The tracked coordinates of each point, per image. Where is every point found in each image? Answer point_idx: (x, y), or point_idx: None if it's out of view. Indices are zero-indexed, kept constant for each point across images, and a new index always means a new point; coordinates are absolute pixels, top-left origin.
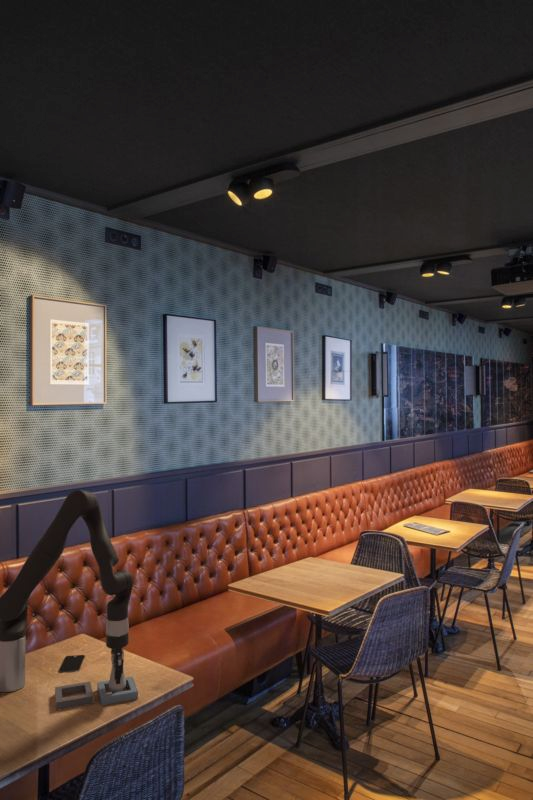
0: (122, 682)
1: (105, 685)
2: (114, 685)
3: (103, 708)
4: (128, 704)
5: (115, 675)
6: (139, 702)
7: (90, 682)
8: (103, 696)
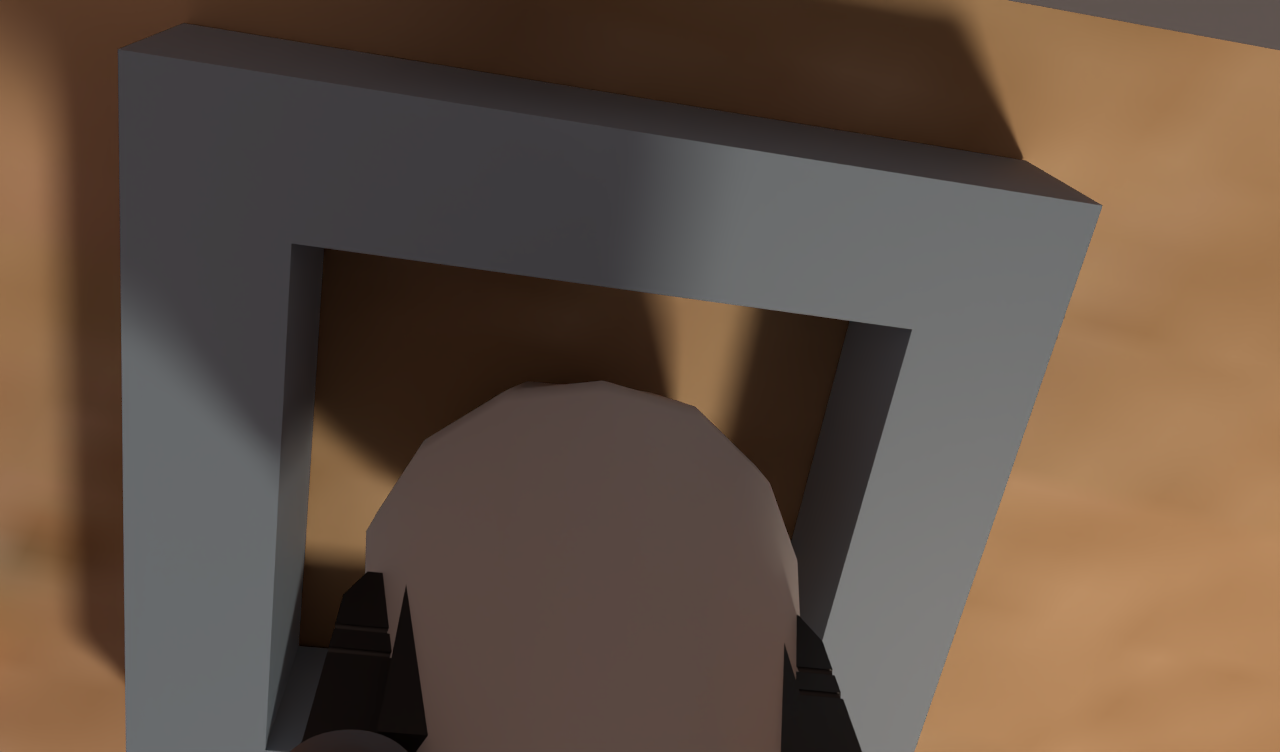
0: None
1: (887, 343)
2: (399, 519)
3: (12, 39)
4: (11, 541)
5: (376, 725)
6: (21, 716)
7: (1232, 35)
8: (171, 132)
